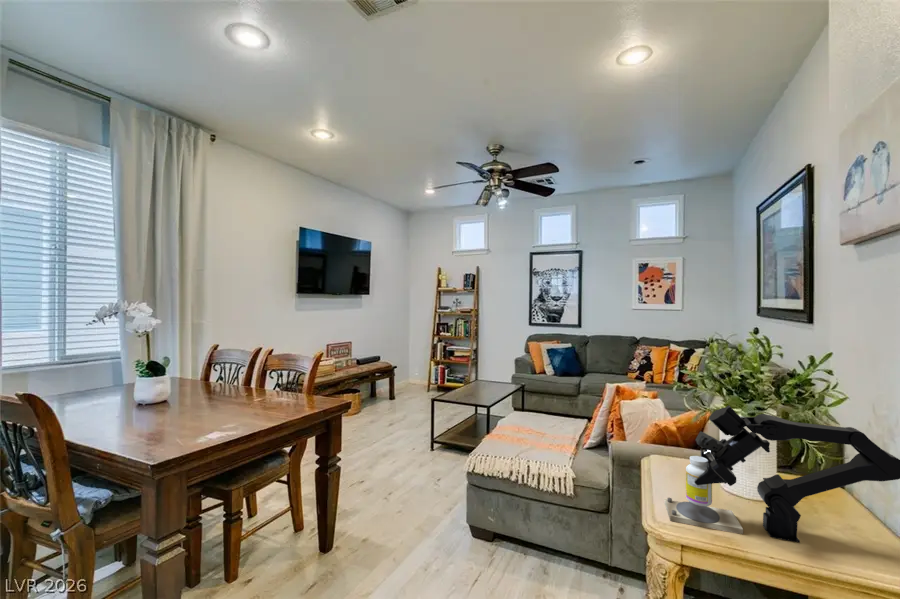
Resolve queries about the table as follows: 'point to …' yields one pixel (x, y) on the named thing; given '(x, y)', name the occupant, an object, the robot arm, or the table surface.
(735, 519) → the jig board
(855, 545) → the table surface
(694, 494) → the supplement bottle
